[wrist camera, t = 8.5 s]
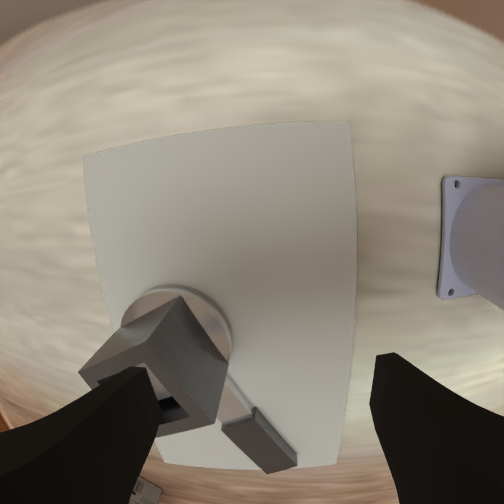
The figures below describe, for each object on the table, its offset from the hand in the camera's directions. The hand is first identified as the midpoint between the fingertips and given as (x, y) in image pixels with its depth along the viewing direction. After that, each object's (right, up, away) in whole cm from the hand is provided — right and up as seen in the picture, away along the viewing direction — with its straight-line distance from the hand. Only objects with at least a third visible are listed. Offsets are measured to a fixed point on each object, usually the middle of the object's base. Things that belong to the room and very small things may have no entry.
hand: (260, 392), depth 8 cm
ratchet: (-2, -6, +11) cm, 12 cm away
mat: (-2, -2, +10) cm, 11 cm away
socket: (-5, -1, +8) cm, 10 cm away
